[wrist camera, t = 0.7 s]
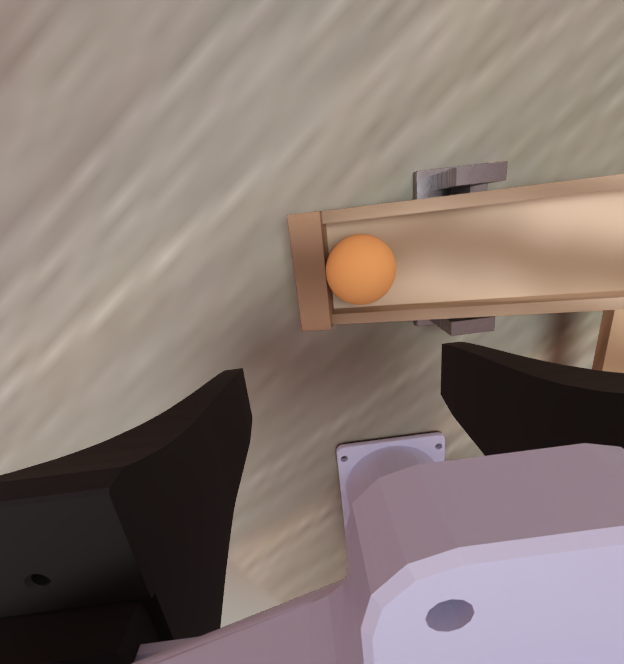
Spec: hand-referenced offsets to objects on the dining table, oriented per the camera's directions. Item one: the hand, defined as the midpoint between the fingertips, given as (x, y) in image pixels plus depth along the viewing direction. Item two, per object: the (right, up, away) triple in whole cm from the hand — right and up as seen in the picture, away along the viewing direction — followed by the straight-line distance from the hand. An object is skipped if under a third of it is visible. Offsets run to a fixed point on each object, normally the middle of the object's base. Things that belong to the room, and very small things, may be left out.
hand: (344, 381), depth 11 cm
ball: (+1, +5, +5) cm, 7 cm away
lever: (+8, +2, +7) cm, 11 cm away
